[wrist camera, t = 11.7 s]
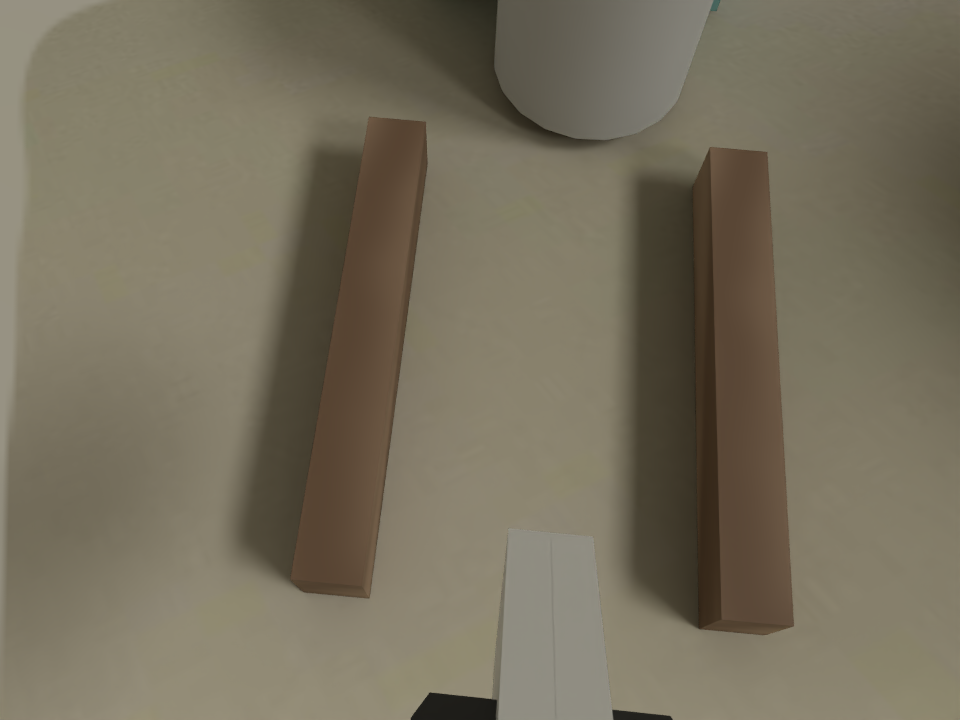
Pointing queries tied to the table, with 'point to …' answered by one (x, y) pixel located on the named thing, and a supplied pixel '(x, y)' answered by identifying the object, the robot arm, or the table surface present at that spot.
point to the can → (596, 61)
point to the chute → (718, 378)
